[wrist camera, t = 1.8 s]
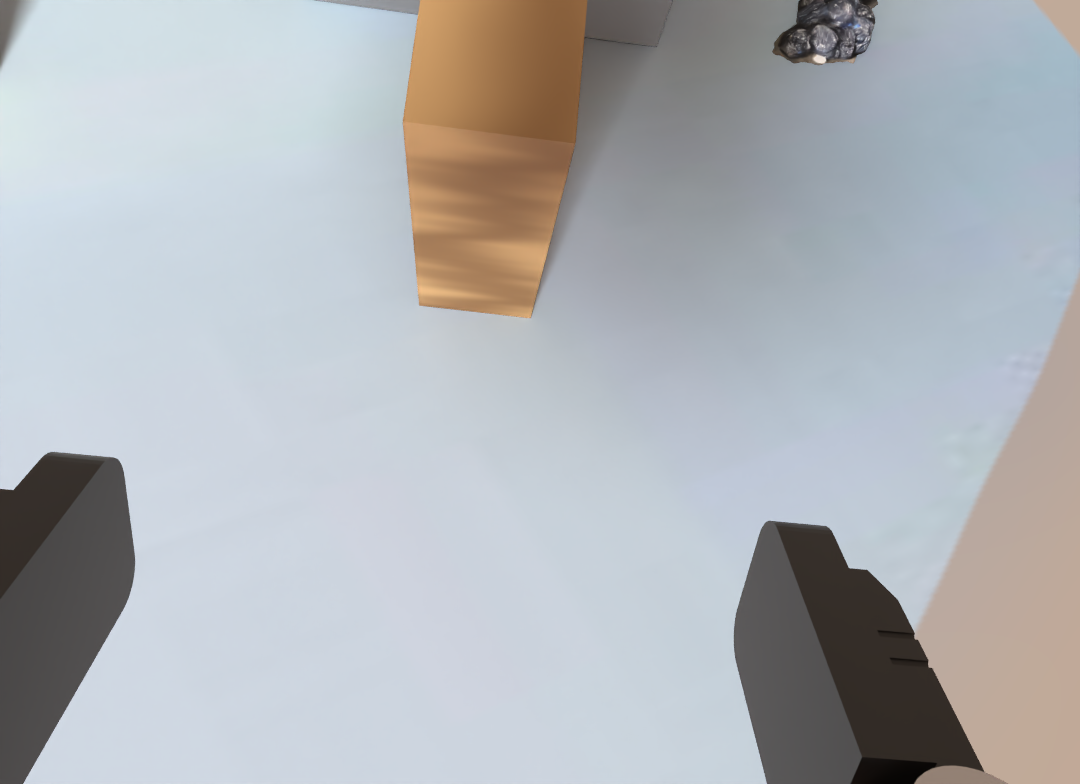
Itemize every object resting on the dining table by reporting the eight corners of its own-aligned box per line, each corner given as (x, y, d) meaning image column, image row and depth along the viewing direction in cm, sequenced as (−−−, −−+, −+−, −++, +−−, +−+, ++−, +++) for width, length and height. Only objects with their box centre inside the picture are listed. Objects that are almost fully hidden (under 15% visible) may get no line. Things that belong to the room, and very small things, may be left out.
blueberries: (700, 39, 37) (711, 12, 35) (808, -91, 39) (825, -124, 37) (832, 136, 37) (851, 113, 35) (937, 1, 38) (960, -28, 36)
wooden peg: (419, 305, 32) (403, 121, 21) (432, 204, 33) (423, -25, 22) (530, 318, 33) (575, 143, 21) (540, 217, 34) (587, -2, 22)
